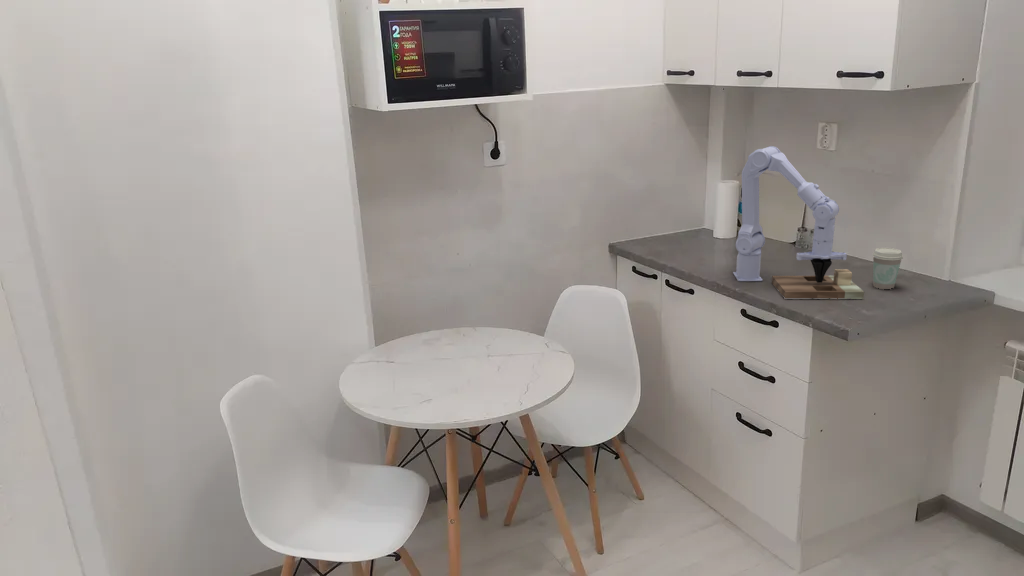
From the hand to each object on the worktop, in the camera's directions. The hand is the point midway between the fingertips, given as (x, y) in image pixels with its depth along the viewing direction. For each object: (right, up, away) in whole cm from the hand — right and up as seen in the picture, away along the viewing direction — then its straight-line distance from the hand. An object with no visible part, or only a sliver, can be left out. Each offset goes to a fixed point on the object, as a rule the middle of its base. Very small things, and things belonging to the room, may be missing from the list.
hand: (818, 281), depth 224 cm
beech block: (+7, -1, -1) cm, 7 cm away
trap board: (-1, -3, +1) cm, 3 cm away
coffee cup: (+22, -2, +2) cm, 22 cm away
